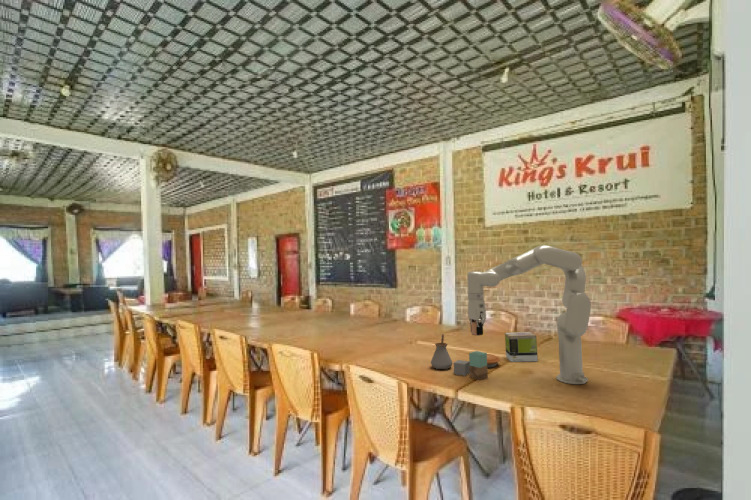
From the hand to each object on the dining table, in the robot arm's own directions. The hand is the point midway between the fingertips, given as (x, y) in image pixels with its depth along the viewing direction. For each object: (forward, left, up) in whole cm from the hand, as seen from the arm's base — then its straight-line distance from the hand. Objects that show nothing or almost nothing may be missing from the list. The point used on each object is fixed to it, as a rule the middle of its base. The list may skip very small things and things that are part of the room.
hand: (476, 333), depth 185 cm
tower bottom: (0, 0, -22) cm, 22 cm away
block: (+8, +5, -22) cm, 24 cm away
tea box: (+20, -38, -22) cm, 48 cm away
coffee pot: (+25, +8, -22) cm, 34 cm away
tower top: (0, 0, -16) cm, 16 cm away
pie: (+18, -14, -22) cm, 32 cm away
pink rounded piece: (0, 0, -1) cm, 1 cm away
